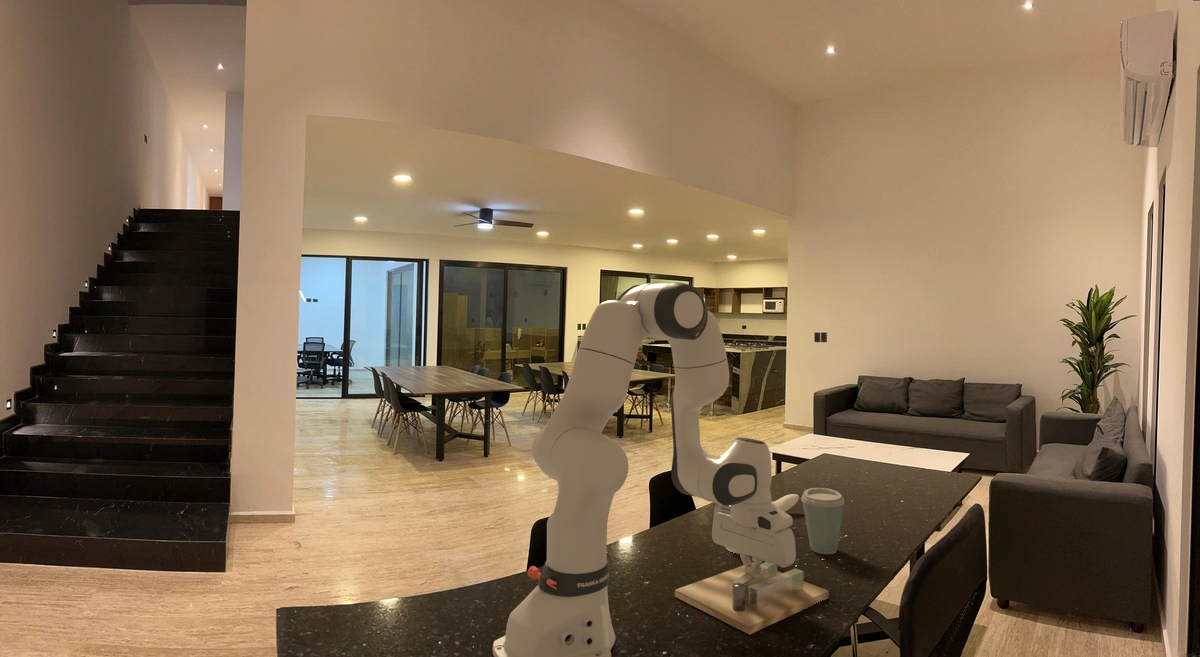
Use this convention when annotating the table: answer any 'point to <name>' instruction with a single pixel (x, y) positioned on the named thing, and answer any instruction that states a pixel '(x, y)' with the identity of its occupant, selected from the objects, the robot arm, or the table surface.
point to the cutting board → (718, 601)
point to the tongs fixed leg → (775, 588)
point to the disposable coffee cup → (823, 518)
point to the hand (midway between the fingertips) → (751, 574)
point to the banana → (786, 502)
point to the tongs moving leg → (750, 583)
